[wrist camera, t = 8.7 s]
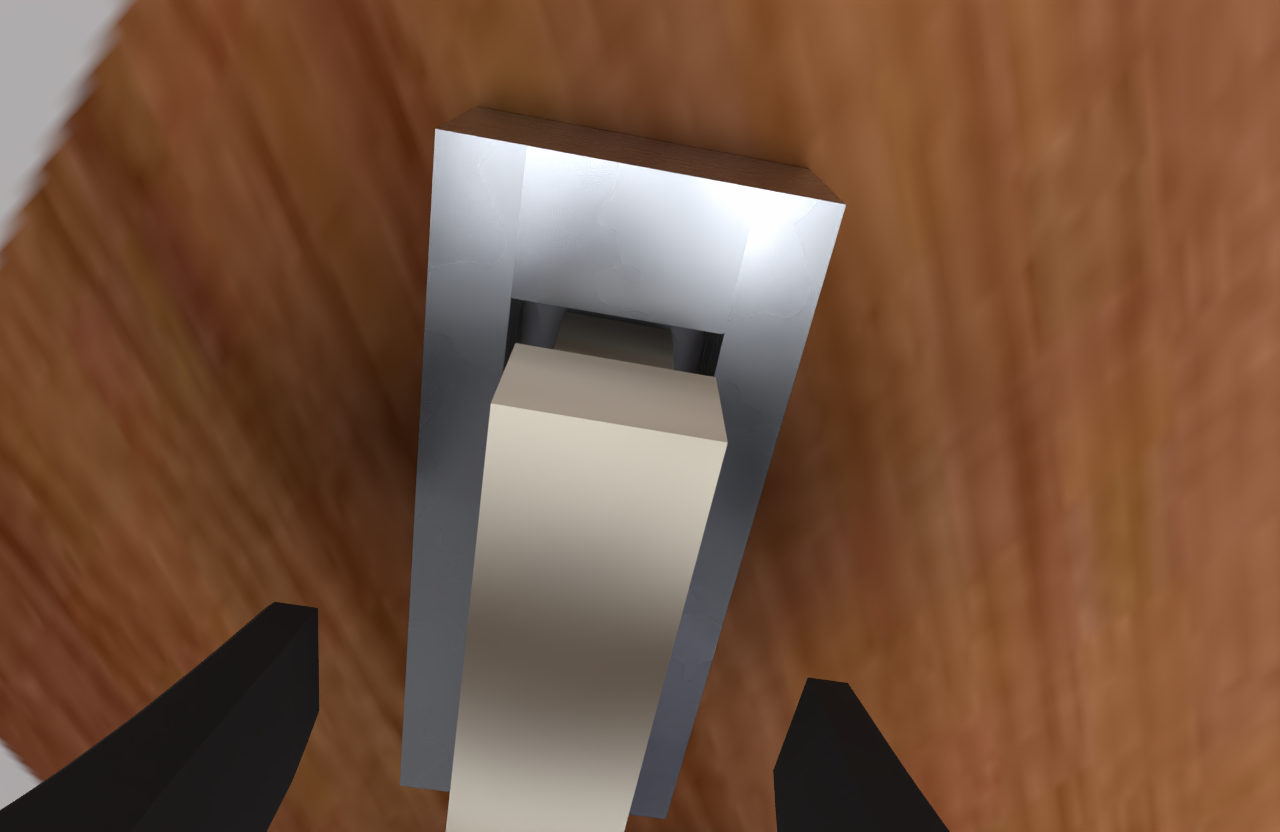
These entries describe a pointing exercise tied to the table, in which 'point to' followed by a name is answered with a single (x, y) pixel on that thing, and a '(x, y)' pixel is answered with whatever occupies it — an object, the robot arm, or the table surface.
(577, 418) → the cream stepped block
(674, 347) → the slot rail
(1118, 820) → the table surface
